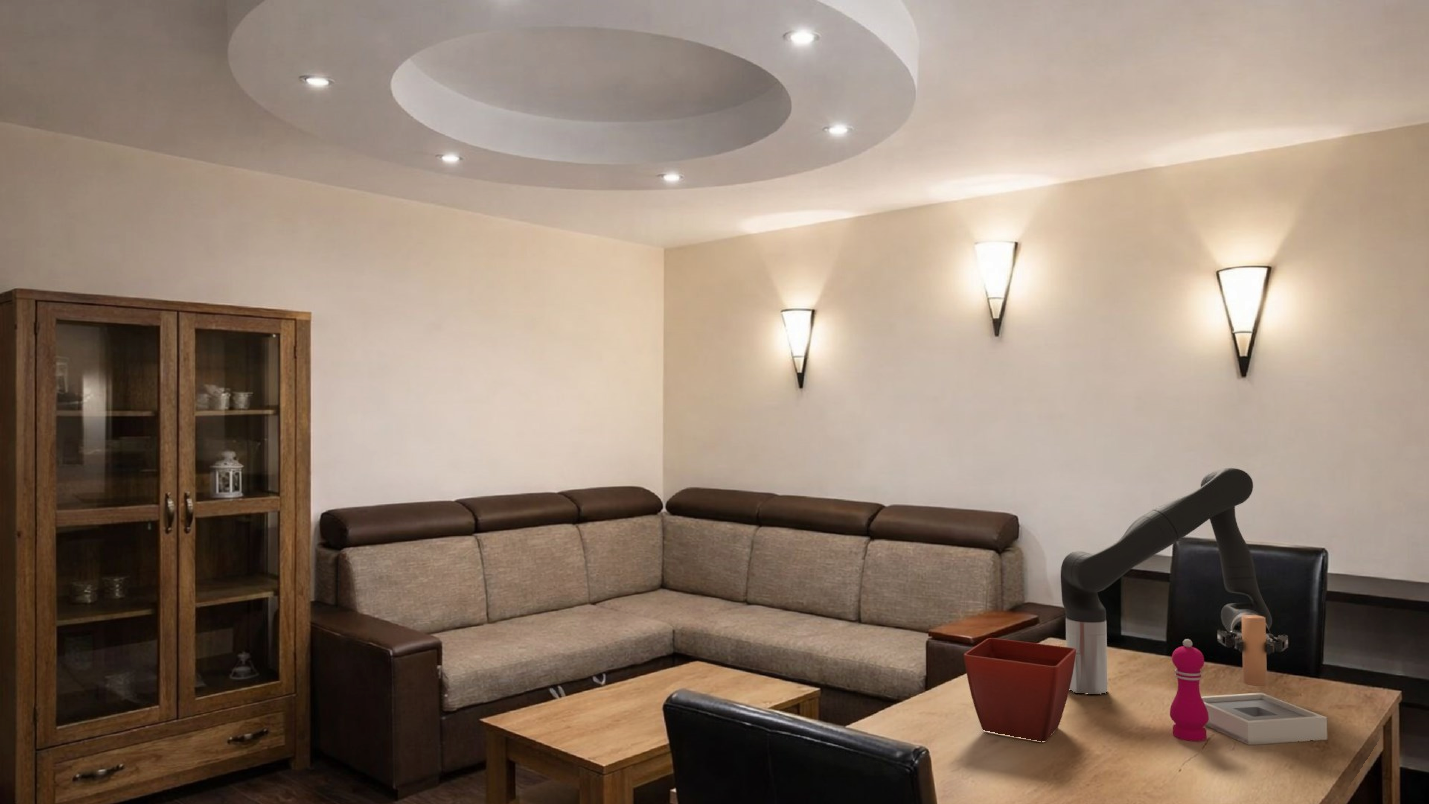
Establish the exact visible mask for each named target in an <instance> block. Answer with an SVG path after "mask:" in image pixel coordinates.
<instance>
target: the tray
mask: <svg viewBox="0 0 1429 804" xmlns="http://www.w3.org/2000/svg"><path fill="white" fill-rule="evenodd" d="M1201 698H1202V700H1203V702H1204V704H1205V706H1206V708H1207V711H1208V716H1209V720H1208V722H1207V724H1206V725H1205V727H1209V728H1210V729H1213V730H1215V731H1217V732H1219V733H1221V734H1223V735H1225V736H1228V737H1230V738H1232V739H1234V740H1237V741H1238V742H1241V743H1243V744H1245V745H1247V746H1255V745H1257V746H1258V745H1267V744H1268V745H1269V744H1284V743H1296V742H1297V743H1298V741H1299V742H1309V741H1310V740H1313V741H1324V740H1328V722H1327V721H1328V717H1327V716H1324V715H1322V714H1319V713H1316V712H1313V711H1311V710H1309V709H1306V708H1303V707H1300V706H1298V705H1295V704H1293V703H1290V702H1287V701H1285V700H1281V699H1280V698H1277V697H1274V696H1272V695H1269V694H1267V693H1264V692H1253V693H1250V692H1249V693H1238V694H1218V695H1205V696H1202V695H1201Z"/></svg>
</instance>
